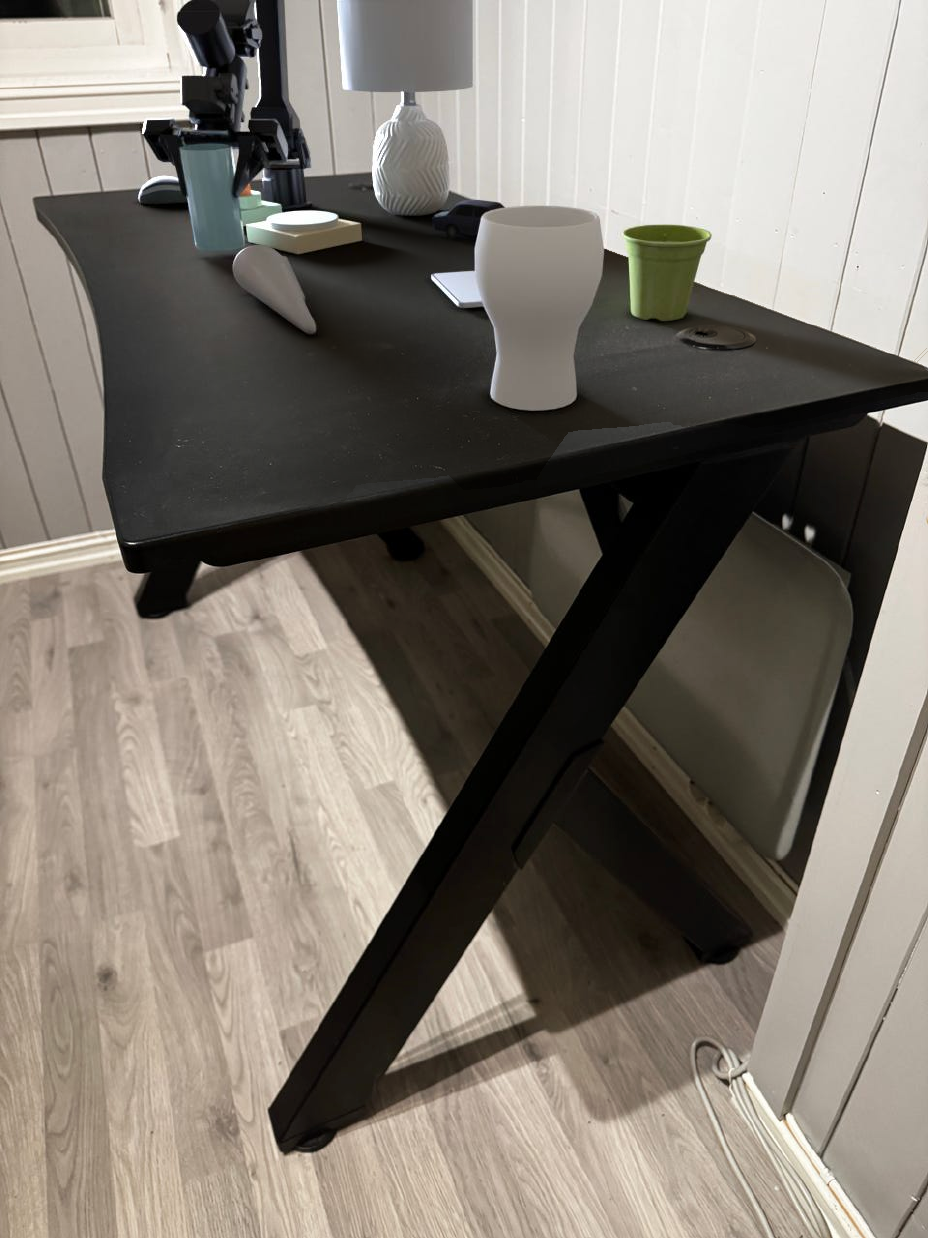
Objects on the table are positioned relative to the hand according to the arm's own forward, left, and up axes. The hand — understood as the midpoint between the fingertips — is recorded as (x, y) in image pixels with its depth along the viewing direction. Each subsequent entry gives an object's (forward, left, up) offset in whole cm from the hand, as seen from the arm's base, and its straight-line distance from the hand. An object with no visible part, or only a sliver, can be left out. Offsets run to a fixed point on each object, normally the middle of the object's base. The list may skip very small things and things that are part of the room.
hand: (209, 195), depth 123 cm
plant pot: (-17, +62, -8) cm, 64 cm away
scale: (-14, +2, -8) cm, 16 cm away
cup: (+12, +68, -8) cm, 69 cm away
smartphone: (-10, +40, -8) cm, 42 cm away
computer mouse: (-19, -42, -8) cm, 47 cm away
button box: (-17, -18, -8) cm, 26 cm away
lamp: (-40, -2, -8) cm, 41 cm away
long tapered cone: (+12, +30, -8) cm, 33 cm away
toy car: (-33, +20, -8) cm, 39 cm away
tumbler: (-1, -1, -7) cm, 7 cm away
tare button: (-17, -18, -4) cm, 25 cm away
